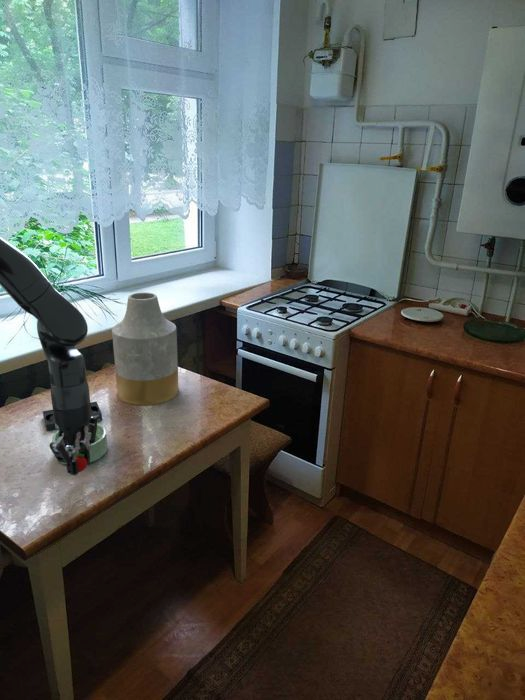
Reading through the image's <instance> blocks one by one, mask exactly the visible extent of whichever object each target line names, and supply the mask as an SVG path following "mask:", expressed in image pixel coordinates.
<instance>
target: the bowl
mask: <svg viewBox="0 0 525 700" xmlns="http://www.w3.org/2000/svg"><path fill="white" fill-rule="evenodd" d="M58 433H59V429H57V430H56V431H55V432H54V434H53V435H52V437H51V438H52V439H51V442H54V443H55V442H56V441H57V439H58V438H59V437H58ZM89 436H90V437H91V432H89ZM107 437H108V436H107V429H106V428H105V427H104V425H102V424H100V423H97V431H96V438H95V442H94V443H91V448H90V449H89V452H90V463H93V462H96V461H98V460H100V459H101V458H102V457H103V456H104V455H106V454H107V451H108V449H109V448H108V447H109V446H108V438H107ZM69 446H71V445H69ZM79 449H80V448H79ZM77 453H79V451H77ZM69 455H71V452H70V451H69ZM53 456H54V455H53ZM54 458H55V460H56V461H57V459H56V457H55V456H54ZM59 463H60V464H62V465H66V463H62V462H59Z"/></svg>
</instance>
